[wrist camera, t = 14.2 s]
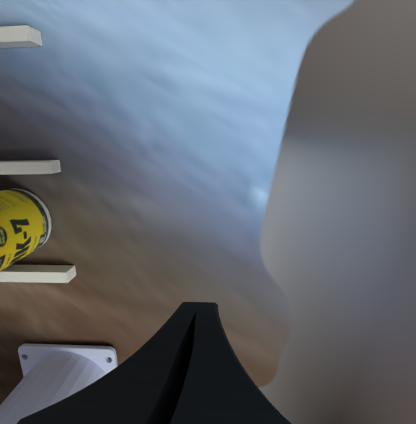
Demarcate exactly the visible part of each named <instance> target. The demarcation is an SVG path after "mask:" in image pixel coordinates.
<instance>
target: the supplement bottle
mask: <svg viewBox="0 0 416 424" xmlns="http://www.w3.org/2000/svg"><path fill="white" fill-rule="evenodd" d="M50 232H51V217H50V214H49V211H48V209H47V207H46V206H45V204H44V203H43V202H42V201H41V200H40V199H39V198H38V197H37V196H36V195H34V194H32V193H31V192H28V191H26V190H22V189H16V188H11V189H5V190H1V191H0V271H1V270H3V269H5V268H6V267H8V266H10V265H11V264H13V263H15V262H16V261H18V260H20V259H22V258H23V257H25V256H26V255H28V254H30V253H32V252H33V251H35V250H37V249H38V248H40V247H41V246H42V245H43V244H44V243H45V242H46V241H47V239H48V238H49V235H50Z"/></svg>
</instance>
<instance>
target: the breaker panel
mask: <svg viewBox="0 0 416 424" xmlns="http://www.w3.org/2000/svg"><path fill="white" fill-rule="evenodd" d="M38 46H43V45H42V38H41V32H40V31H38V30H36V29H34V28H32V27H30V26H28V25H22V26H4V27H0V48H18V47H38ZM57 172H61V168H60V161H59V160H25V161H0V175H10V174H53V173H57ZM75 276H76V270H75V265H10V266H8V267H6V268H5V269H3V270H1V271H0V282H47V283H68V282H69V281H70V280H72V279H73V278H74V277H75Z"/></svg>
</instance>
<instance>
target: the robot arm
mask: <svg viewBox="0 0 416 424" xmlns="http://www.w3.org/2000/svg"><path fill="white" fill-rule="evenodd" d="M18 353H19V358H20V363H21V367H22V372H23V377H24V378H23V379H22V380H21V381H20V383H19V384H18V385H17V386H16V387H15V388H14V390H13V391H12V392H11V393H10V394H9V395H8V397H7V398H6V399H5V400H4V401H3V403H2V404H1V405H0V424H291V423H290V422H289V421H288V420H287V419H286V418H284V417H283V416H282V415H281V414H280V413H279V411H278V410H277V409H276V408H275V407H274V406H273V405H272V404H271V403H270V402H269V401H268V399H267V398H266V397H265V396H264V395H263V394H262V392H261V391H260V390H259V389H258V387H257V386H256V385H255V384H254V382H253V381H252V380H251V378H250V377H249V375H248V374H247V373H246V371H245V370H244V368H243V366H242V365H241V363H240V362H239V360H238V358H237V357H236V355H235V353H234V351H233V349H232V347H231V345H230V343H229V341H228V339H227V337H226V334H225V332H224V329H223V327H222V324H221V321H220V317H219V313H218V305H217V304H216V303H208V302H183V303H182V304H181V305H180V306H179V308H178V309H177V310H176V311H175V312H174V314H173V315H172V316H171V317H170V318H169V319H168V321H167V322H166V323H165V324H164V325H163V326H162V327H161V328H160V329H159V330H158V331H157V333H156V334H155V335H154V336H153V337H152V338H151V339H149V340H148V341H147V342H146V343H145V344H144V345H143V346H142V347H141V348H140V349H139V350H138V351H137V352H135V353H134V354H133V355H132V356H131V357H129V358H128V359H127V360H126V361H124V362H123V363H122V364H120V365H119V366H118V365H117V357H116V351H115V349H114V348H113V347H110V346H86V345H56V344H26V343H25V344H22V345H21V346H20V347H19V348H18ZM26 355H27V356H26ZM108 357H109V358H111V359H109V358H108Z"/></svg>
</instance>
